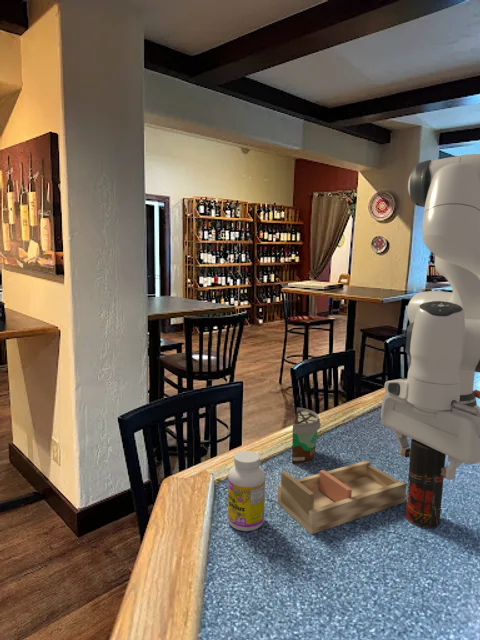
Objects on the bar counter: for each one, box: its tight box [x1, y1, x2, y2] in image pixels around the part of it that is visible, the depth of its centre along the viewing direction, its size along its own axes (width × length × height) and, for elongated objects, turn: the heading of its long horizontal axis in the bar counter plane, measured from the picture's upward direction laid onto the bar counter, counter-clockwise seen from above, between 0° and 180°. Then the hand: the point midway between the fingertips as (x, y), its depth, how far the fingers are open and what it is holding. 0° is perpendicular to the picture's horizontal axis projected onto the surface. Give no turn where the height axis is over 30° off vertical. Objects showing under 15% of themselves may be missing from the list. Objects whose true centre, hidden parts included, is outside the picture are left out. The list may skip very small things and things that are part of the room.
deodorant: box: [405, 438, 447, 529], centre depth 85 cm, size 6×6×15 cm
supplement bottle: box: [227, 450, 266, 532], centre depth 83 cm, size 7×7×13 cm
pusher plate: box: [318, 469, 352, 502], centre depth 90 cm, size 1×8×4 cm, turn 28°
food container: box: [291, 407, 322, 465], centre depth 110 cm, size 12×6×10 cm, turn 168°
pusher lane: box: [277, 460, 408, 535], centre depth 90 cm, size 23×11×7 cm, turn 118°
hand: (425, 466), depth 84 cm, fingers open, 8 cm apart
